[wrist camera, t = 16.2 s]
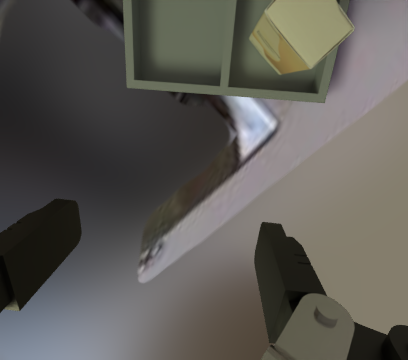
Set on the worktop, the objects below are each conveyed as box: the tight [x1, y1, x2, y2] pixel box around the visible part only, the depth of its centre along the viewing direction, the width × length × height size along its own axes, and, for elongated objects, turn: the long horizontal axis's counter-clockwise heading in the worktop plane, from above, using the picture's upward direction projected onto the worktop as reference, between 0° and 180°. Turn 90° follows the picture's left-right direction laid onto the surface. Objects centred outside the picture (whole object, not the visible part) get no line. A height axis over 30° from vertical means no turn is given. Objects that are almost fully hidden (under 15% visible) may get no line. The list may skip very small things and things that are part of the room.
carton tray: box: [123, 0, 350, 103], centre depth 29 cm, size 25×13×4 cm, turn 86°
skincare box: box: [249, 0, 354, 75], centre depth 24 cm, size 6×4×12 cm
